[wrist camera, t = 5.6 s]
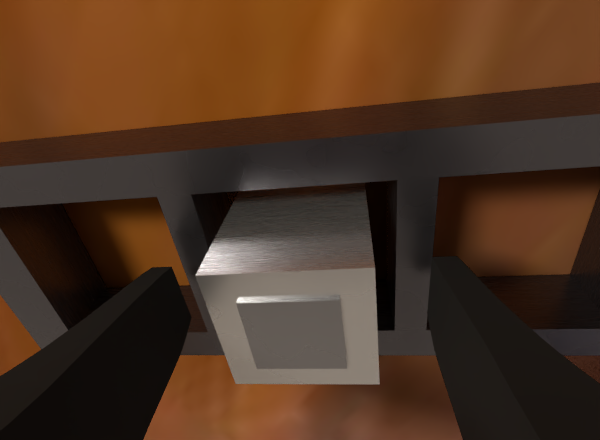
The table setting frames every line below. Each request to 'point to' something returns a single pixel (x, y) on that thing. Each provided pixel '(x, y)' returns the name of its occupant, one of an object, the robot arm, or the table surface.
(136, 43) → the table surface
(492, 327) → the robot arm
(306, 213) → the block
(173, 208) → the rack rail
